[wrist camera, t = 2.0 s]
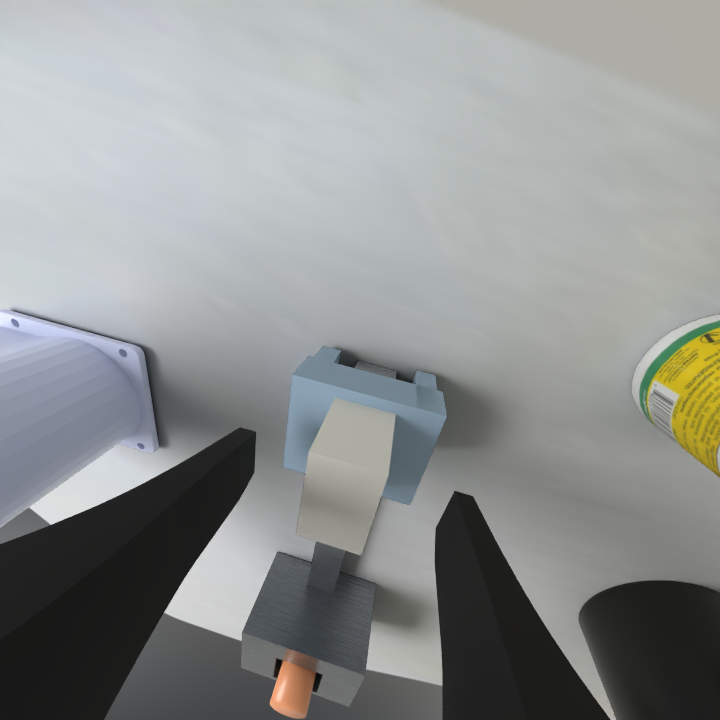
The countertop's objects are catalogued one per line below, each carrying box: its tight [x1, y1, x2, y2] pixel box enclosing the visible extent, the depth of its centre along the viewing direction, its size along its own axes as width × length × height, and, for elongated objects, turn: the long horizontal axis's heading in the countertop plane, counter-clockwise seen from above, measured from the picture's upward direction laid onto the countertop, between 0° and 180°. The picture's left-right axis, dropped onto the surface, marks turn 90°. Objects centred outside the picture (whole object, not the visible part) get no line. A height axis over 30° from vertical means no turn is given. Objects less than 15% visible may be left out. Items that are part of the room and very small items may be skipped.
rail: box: [307, 361, 397, 594], centre depth 18 cm, size 2×18×2 cm, turn 168°
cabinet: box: [241, 552, 376, 707], centre depth 21 cm, size 8×6×5 cm
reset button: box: [270, 660, 316, 719], centre depth 20 cm, size 2×2×4 cm
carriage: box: [283, 346, 447, 555], centre depth 12 cm, size 6×5×6 cm
